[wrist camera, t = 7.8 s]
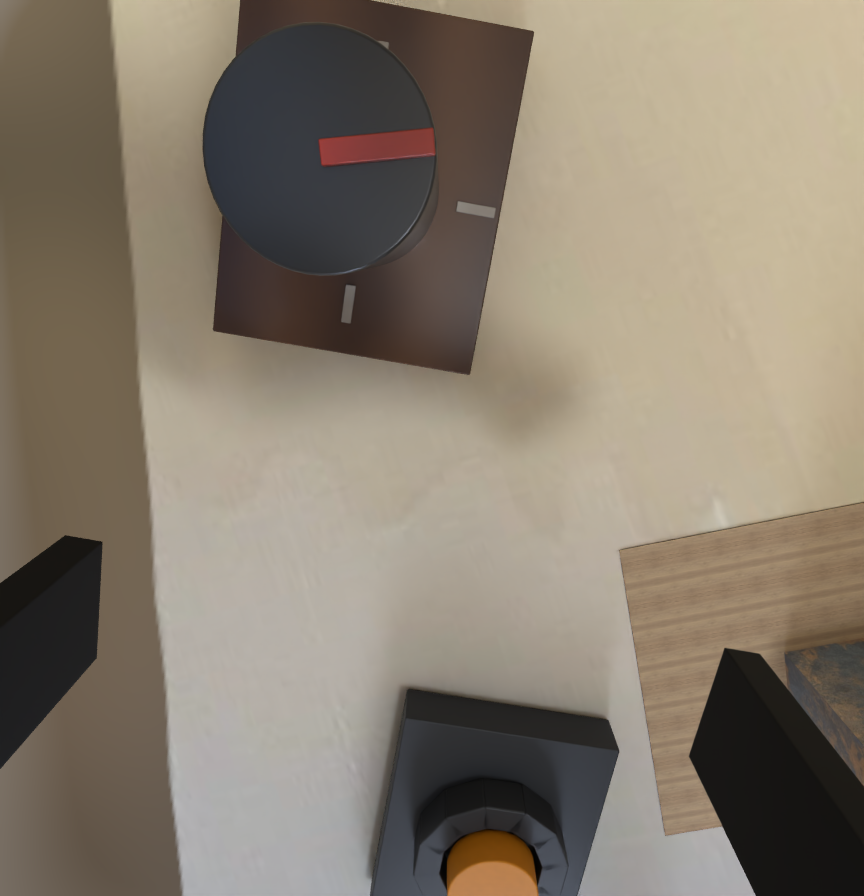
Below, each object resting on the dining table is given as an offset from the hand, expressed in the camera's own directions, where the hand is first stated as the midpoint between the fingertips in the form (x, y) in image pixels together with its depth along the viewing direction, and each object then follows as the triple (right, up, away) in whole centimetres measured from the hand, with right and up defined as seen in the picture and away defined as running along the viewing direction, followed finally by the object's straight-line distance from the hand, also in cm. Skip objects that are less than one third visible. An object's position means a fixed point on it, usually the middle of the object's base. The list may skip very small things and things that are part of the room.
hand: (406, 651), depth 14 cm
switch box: (+3, -14, +21) cm, 25 cm away
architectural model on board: (+23, -5, +18) cm, 30 cm away
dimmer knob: (-2, +14, +10) cm, 17 cm away
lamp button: (+3, -15, +17) cm, 23 cm away
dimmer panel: (-2, +14, +13) cm, 19 cm away
